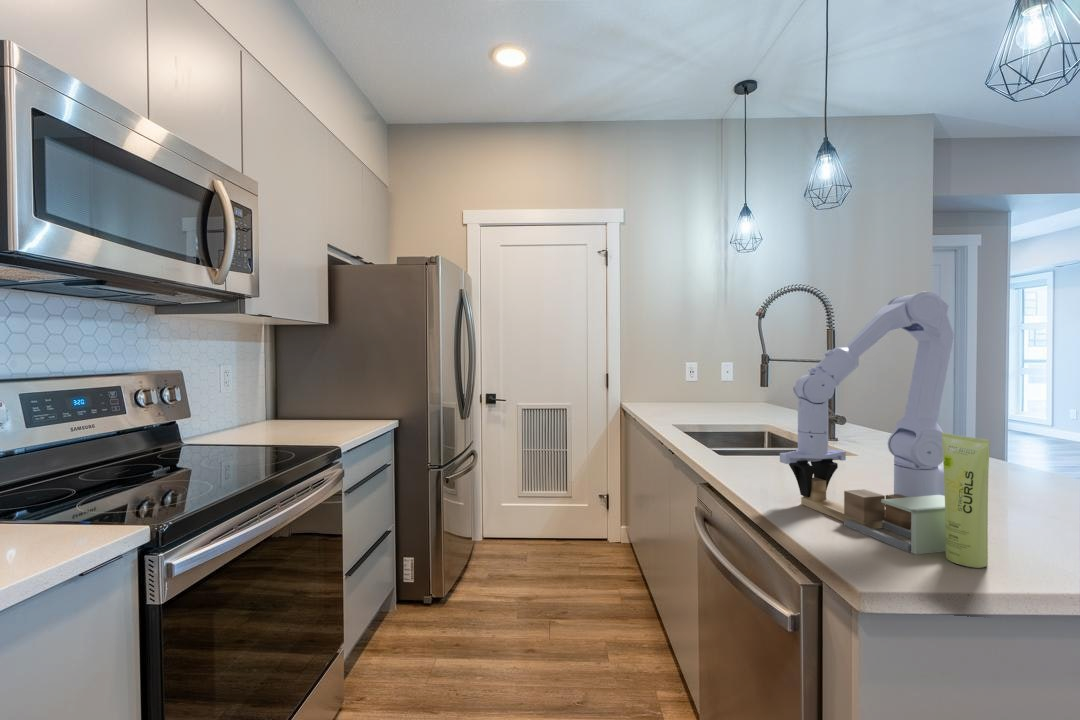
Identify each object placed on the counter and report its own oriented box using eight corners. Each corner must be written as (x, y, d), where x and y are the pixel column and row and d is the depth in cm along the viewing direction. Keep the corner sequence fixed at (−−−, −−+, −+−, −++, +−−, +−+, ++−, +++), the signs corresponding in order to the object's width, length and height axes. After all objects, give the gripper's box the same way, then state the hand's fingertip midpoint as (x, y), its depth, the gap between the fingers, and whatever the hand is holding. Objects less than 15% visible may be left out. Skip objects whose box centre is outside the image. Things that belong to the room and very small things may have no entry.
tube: (940, 562, 78) (940, 435, 78) (941, 552, 82) (941, 431, 81) (989, 572, 74) (990, 439, 74) (988, 561, 78) (988, 435, 78)
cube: (864, 512, 97) (864, 489, 97) (884, 520, 93) (884, 495, 92) (844, 514, 96) (844, 490, 96) (863, 522, 92) (864, 497, 92)
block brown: (878, 514, 100) (878, 486, 100) (918, 529, 92) (918, 499, 92) (861, 516, 100) (861, 488, 99) (900, 530, 91) (900, 500, 91)
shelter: (939, 533, 90) (939, 494, 90) (977, 547, 83) (977, 505, 83) (881, 539, 87) (881, 499, 87) (915, 554, 81) (916, 510, 81)
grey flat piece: (899, 519, 97) (900, 511, 97) (970, 545, 85) (970, 535, 84) (844, 525, 95) (844, 516, 95) (907, 551, 82) (908, 542, 82)
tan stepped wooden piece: (817, 502, 108) (817, 477, 108) (882, 528, 93) (882, 498, 93) (801, 503, 108) (801, 478, 108) (863, 529, 92) (864, 499, 92)
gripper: (827, 427, 112) (827, 488, 112) (770, 430, 109) (770, 492, 109) (853, 432, 105) (853, 497, 106) (792, 435, 102) (792, 501, 103)
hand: (812, 495), depth 107 cm, fingers closed on tan stepped wooden piece, 3 cm apart
